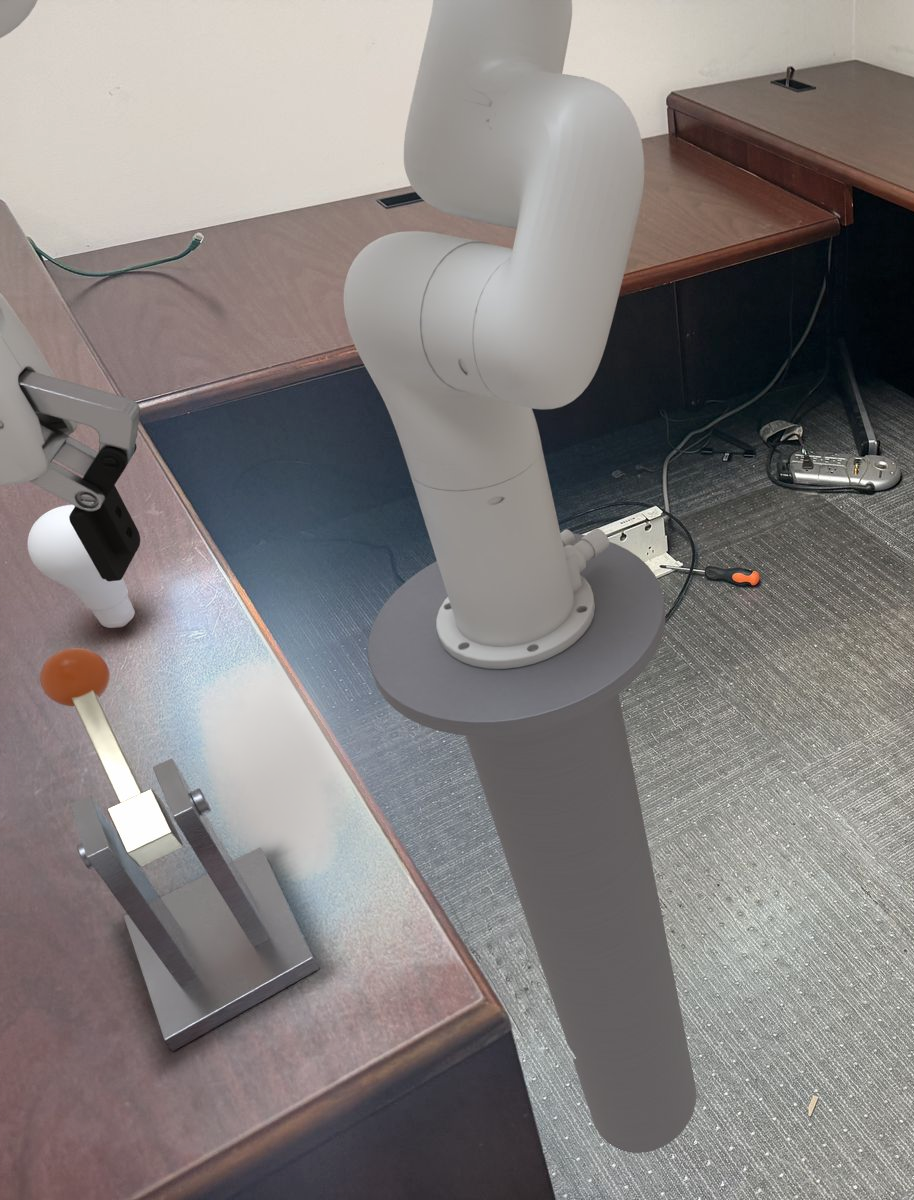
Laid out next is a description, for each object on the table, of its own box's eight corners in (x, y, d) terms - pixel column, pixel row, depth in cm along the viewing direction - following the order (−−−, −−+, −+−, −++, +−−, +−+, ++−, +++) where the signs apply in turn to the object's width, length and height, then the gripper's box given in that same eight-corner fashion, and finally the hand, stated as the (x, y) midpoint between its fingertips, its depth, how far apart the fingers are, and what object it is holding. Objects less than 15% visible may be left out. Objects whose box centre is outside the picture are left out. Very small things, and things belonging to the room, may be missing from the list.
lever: (43, 679, 61) (21, 653, 58) (105, 654, 63) (86, 628, 60) (132, 875, 57) (113, 856, 55) (195, 843, 59) (180, 824, 56)
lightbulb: (92, 607, 90) (27, 495, 83) (171, 595, 90) (113, 483, 83) (69, 655, 85) (-2, 541, 78) (152, 642, 86) (90, 528, 79)
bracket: (131, 927, 65) (28, 785, 57) (267, 858, 69) (187, 715, 61) (173, 1052, 59) (63, 912, 51) (319, 969, 63) (239, 826, 55)
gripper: (71, 179, 46) (222, 512, 57) (-376, 217, 44) (-132, 553, 55) (-1, 245, 40) (182, 602, 51) (-518, 292, 39) (-215, 651, 50)
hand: (19, 576), depth 53 cm, fingers open, 9 cm apart
